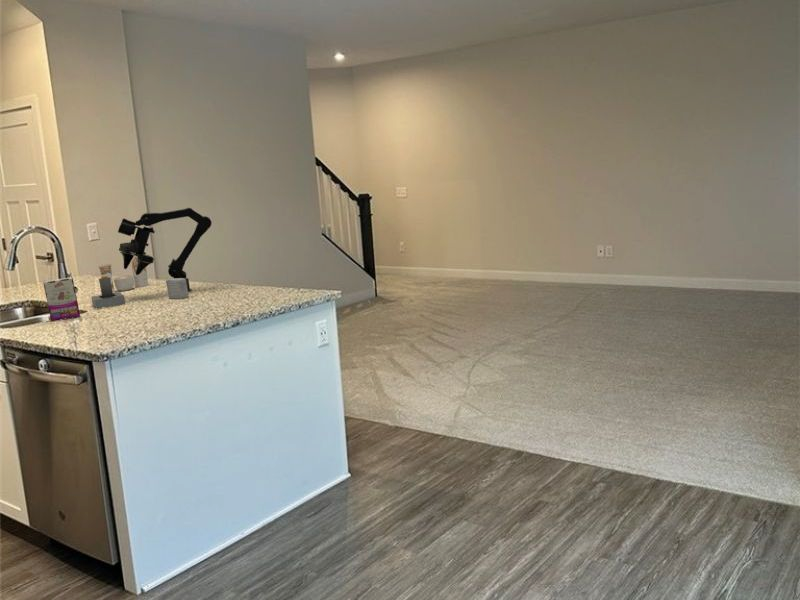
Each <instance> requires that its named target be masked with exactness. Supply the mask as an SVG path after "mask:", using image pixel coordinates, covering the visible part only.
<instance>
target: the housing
mask: <svg viewBox="0 0 800 600" xmlns="http://www.w3.org/2000/svg"><path fill="white" fill-rule="evenodd" d="M90 297H91V303H92V306H93V305H94V306H95V307H94V306H93V307H94V308H95V309H96V308H100V309H103V308H102V307H106V308H110V307H109V306H112V307H115V306H114V305H118V306H122V305H121V304H124V305H126V301H125V300H126V299H125V294H123V293H122V292H121V291H118V292H114V293H113V296H111V297H105V298H102V294H100V295H93V296H90Z"/></svg>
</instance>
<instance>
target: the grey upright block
mask: <svg viewBox="0 0 800 600" xmlns="http://www.w3.org/2000/svg"><path fill="white" fill-rule="evenodd" d="M98 281H99V287H100V295H102V298H105V297H111V296H113V292H112V286H111V280H110V277H107V275H101V274H100V278H99V279H98Z"/></svg>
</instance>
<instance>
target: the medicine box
mask: <svg viewBox="0 0 800 600" xmlns="http://www.w3.org/2000/svg"><path fill="white" fill-rule="evenodd" d="M165 283H166V290H167V295H168V299H169V300H174V299H175V300H176V299H177V300H182V299H183V298H184V299H186V297H187V298H189V292H188V290H187V284H186V279H185V278H173V277H172V278H169V279H167V280H165ZM184 299H183V300H184Z"/></svg>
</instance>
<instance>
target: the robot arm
mask: <svg viewBox="0 0 800 600" xmlns="http://www.w3.org/2000/svg"><path fill="white" fill-rule="evenodd" d="M186 217H187V218H190V219H191V220H193V221H194V222H196V223H197V224H196V226H195V229H194V232H193V234H191V236H190V237H189V239H188V241H187V243H186V244H185V246H184V248H183V249H182V251H181V253H180V254H179V256H178V257H177V258H176V259H175V258H172V260H171V262H170V264H168V266H167V267H168V270H167V272H168V275H169V276H170V277H171V278H172V279H173V278H185V279H186V284H187V290H188V293H189V292H191V291H192V288H191V287H190V279H189V277H188V276H187V275H188V273H187V272H185V271H184V270H183V269H184V267H185V263H186V261H187V259H188V258H189V256H190V255H191V254H192V252H193V250H194V248H195V247H196V245H197V244H198V242H199V241H200V239H201V238H202V236H203V235H205V233H207V231H208V230H209V229H210V228H211V226H212V220H211V218H210V217H209V216H207V215H202V214H200V213H198V212H197V211H195V210H194V209H193V208H192V207H186V208H181V209H176V210H171V211H166V212H144V213H143V214H142V215H141V216H140V218H139V219H138V220H135V221H132V220H128V219H127V218H124V217H123V218H122V219H121V223H120V225H119V226H118V230H117V232H118V233H119V234H122V235H126V236H128V237H131V236H132V235H133V236H134V238H131V240H130V242H122V243H120V244H119V249H118V251H119V252H120V254H121V256H122V257H123V258H122V259H123V269H124V270H127V269H128V267H129V266H130V264H131V263H132V261H133V259H134V255H135V256H137V257H138V260H137V262H138V266H137V270H136V275H139V274H140V272H141V271H142V270H143V269H144V268H145V267H146V268H147V267H148V266H149V265H151V264H153V263H154V261H155V258H154V257H153V256H151V255H149V254H147V252H146V248H147V247H149V245H150V244H149V243H148V241H149V238H150V235H151V233H152V234H155V233H156V230H155V229H154V227H153V225H156V224H158V223H161V222H164V221H170V220H175V219H180V218H186ZM140 226H143V227H140ZM151 226H152V227H151ZM136 229H137V230H136Z"/></svg>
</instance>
